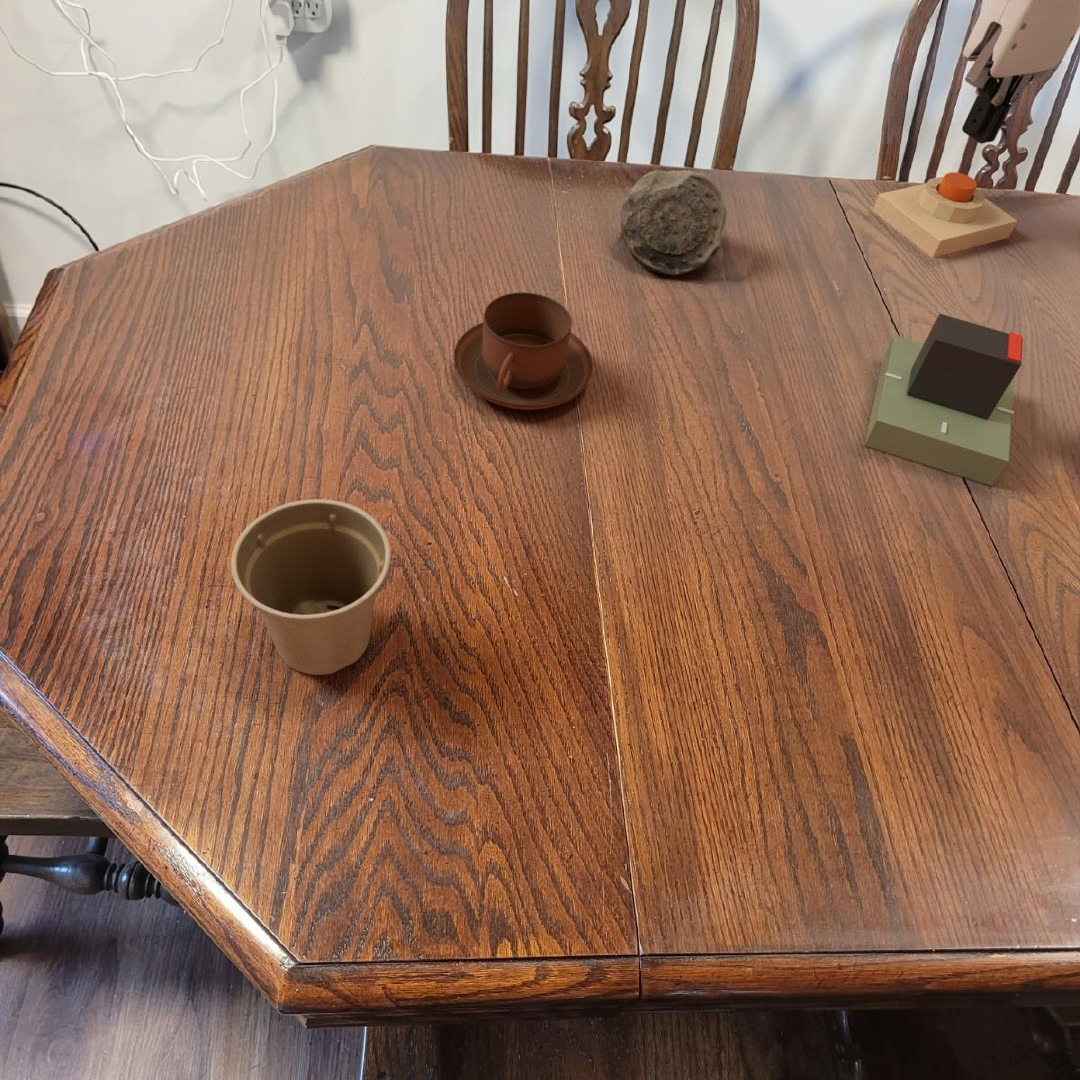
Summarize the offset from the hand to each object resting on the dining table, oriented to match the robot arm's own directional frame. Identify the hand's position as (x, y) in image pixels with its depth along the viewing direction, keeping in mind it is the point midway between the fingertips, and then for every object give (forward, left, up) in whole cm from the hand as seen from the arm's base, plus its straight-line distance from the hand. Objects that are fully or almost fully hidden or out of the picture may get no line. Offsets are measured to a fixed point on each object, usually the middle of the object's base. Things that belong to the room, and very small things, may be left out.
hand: (977, 136), depth 99 cm
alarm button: (0, 0, -7) cm, 7 cm away
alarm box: (0, 0, -10) cm, 10 cm away
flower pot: (+82, +25, -11) cm, 86 cm away
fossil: (+34, -6, -11) cm, 36 cm away
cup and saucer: (+57, +6, -11) cm, 58 cm away
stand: (+25, +25, -10) cm, 37 cm away
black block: (+25, +25, -7) cm, 36 cm away
